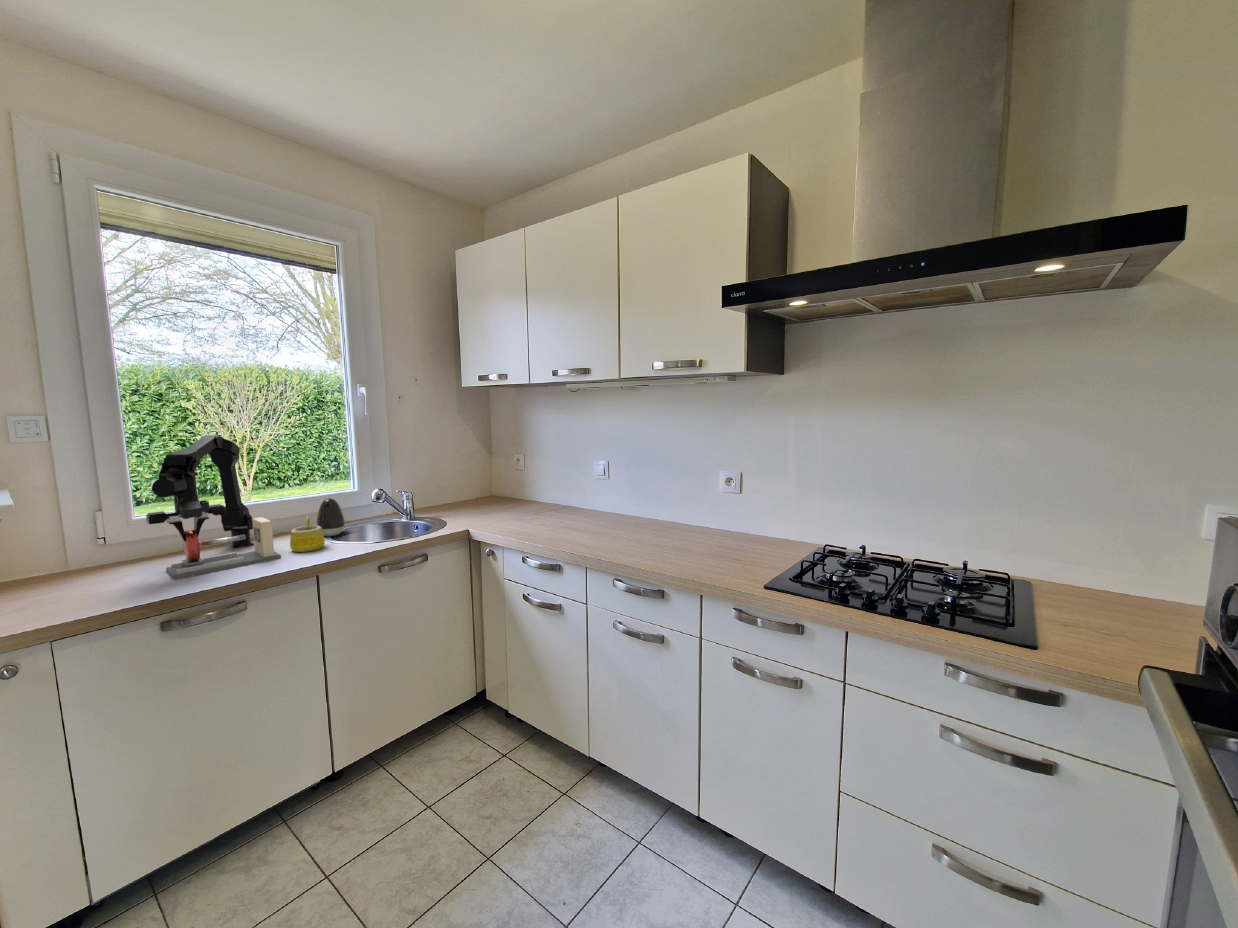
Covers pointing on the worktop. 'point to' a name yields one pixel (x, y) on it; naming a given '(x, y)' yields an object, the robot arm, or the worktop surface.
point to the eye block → (234, 554)
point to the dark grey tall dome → (330, 518)
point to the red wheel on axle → (194, 546)
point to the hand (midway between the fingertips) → (190, 540)
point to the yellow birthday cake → (307, 537)
